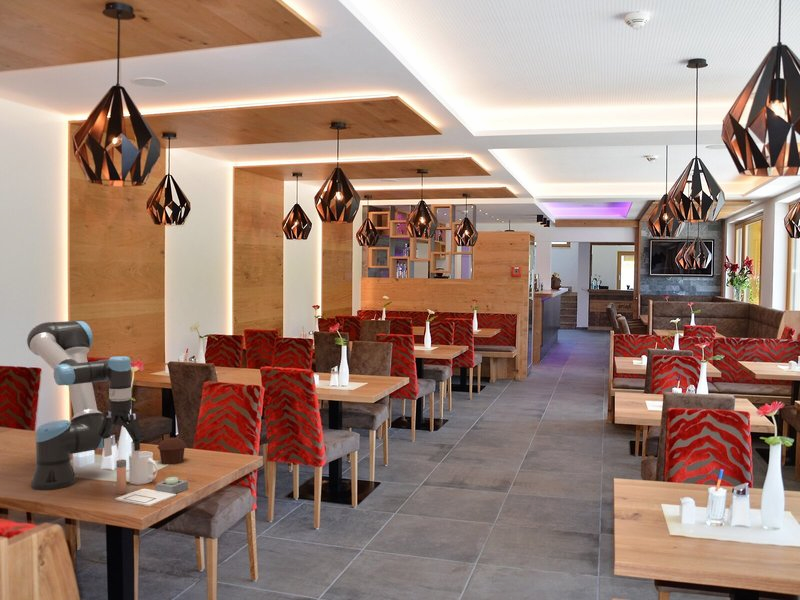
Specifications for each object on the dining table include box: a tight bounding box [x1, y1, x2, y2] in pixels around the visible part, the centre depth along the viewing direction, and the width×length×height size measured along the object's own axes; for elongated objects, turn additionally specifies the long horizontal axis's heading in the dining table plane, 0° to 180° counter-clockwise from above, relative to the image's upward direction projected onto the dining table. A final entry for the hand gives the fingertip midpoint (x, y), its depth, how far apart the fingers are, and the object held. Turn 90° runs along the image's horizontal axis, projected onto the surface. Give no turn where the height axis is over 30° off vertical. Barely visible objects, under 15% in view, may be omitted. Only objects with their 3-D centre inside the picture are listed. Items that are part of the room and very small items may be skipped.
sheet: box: [115, 488, 177, 507], centre depth 252 cm, size 16×13×1 cm
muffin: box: [157, 437, 187, 465], centre depth 300 cm, size 12×11×10 cm
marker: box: [115, 459, 127, 496], centre depth 257 cm, size 3×3×12 cm
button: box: [164, 476, 179, 485], centre depth 260 cm, size 4×4×3 cm
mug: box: [128, 450, 158, 486], centre depth 271 cm, size 9×12×11 cm
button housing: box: [155, 479, 189, 495], centre depth 260 cm, size 8×8×3 cm
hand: (121, 457), depth 256 cm, fingers open, 13 cm apart
